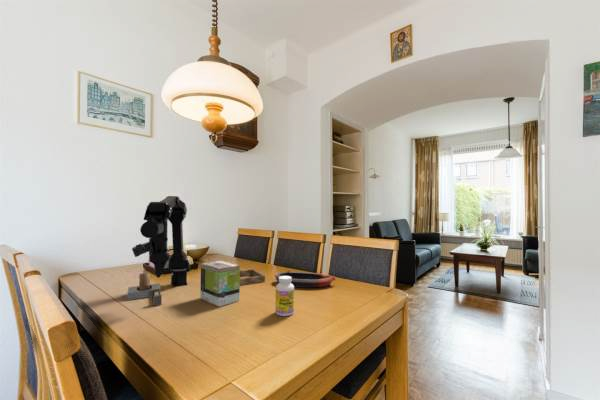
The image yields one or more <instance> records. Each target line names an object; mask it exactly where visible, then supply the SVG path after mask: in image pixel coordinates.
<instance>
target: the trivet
mask: <svg viewBox="0 0 600 400" xmlns="http://www.w3.org/2000/svg"><path fill="white" fill-rule="evenodd" d="M247 275H249V276H251V277H249V276H247ZM246 276H247V277H246ZM241 277H244V278H241ZM264 281H265V282H266V276H265V275H264V274H262V273H261V272H259V271H257V270H255V269H254V268H251V269H243V270H240V286H244V285H245V284H246V285H252V283H253V284H258V282H259V283H264ZM246 285H245V286H246Z"/></svg>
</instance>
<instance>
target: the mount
mask: <svg viewBox="0 0 600 400" xmlns="http://www.w3.org/2000/svg"><path fill="white" fill-rule="evenodd" d="M156 291H159V295H161V293H162V291H161V284H160V283H153V284H152V283H150V289H146V290H139V285H136V286H130V287H129V286H128V290H127V301H132V300H133V301H134V300H138V299H139V300H140V298H141V299H146V298H147V297H148V298H153V296H154V292H156Z"/></svg>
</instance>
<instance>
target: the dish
mask: <svg viewBox="0 0 600 400" xmlns="http://www.w3.org/2000/svg"><path fill="white" fill-rule="evenodd" d="M280 276H290V277H292V281H291V284H293V285H294V288H306V287H307V288H309V289H310V288H311V289H314V288H315V287H317V288H324V287H328V286H330V285H331V284H332V283H333V282H334V281H336V279H337V278H336V276H333V275H329V274H324V273H319V272H318V273H316V272H303V271H302V272H301V271H300V272H299V271H290V270H287V271H285V272H278V273H275V275H274V278H275V280H276V281H277V283H279V277H280ZM323 286H324V287H323Z"/></svg>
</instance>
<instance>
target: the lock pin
mask: <svg viewBox="0 0 600 400" xmlns="http://www.w3.org/2000/svg"><path fill="white" fill-rule="evenodd" d="M152 298H153V299H152V304H153V306H157V305H162V298H163V297H162V294H160V295H159V290H155V291H153V297H152Z"/></svg>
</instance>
